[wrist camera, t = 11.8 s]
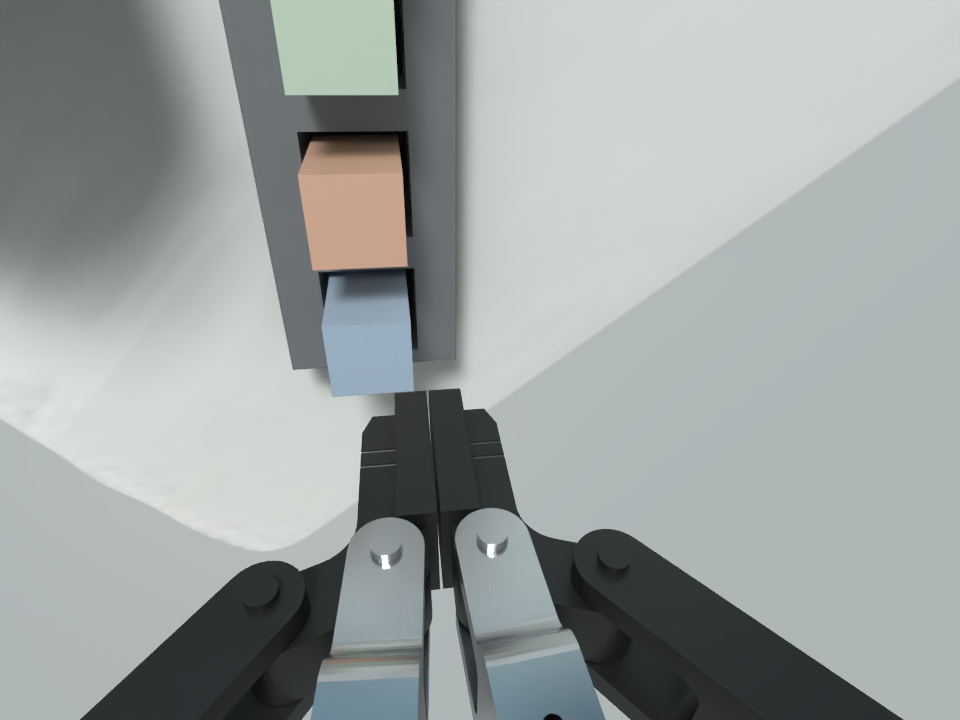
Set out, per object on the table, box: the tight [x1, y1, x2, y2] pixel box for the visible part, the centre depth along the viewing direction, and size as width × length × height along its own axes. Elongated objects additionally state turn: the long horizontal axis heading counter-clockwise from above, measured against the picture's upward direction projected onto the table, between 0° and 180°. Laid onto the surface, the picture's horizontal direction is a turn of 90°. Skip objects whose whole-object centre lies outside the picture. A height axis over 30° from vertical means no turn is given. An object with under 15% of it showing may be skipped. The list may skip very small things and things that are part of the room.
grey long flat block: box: [219, 0, 456, 370], centre depth 29 cm, size 10×30×4 cm, turn 178°
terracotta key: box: [298, 135, 408, 270], centre depth 28 cm, size 4×4×7 cm
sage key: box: [270, 0, 399, 95], centre depth 24 cm, size 4×4×7 cm
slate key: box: [322, 269, 414, 397], centre depth 32 cm, size 4×4×7 cm
